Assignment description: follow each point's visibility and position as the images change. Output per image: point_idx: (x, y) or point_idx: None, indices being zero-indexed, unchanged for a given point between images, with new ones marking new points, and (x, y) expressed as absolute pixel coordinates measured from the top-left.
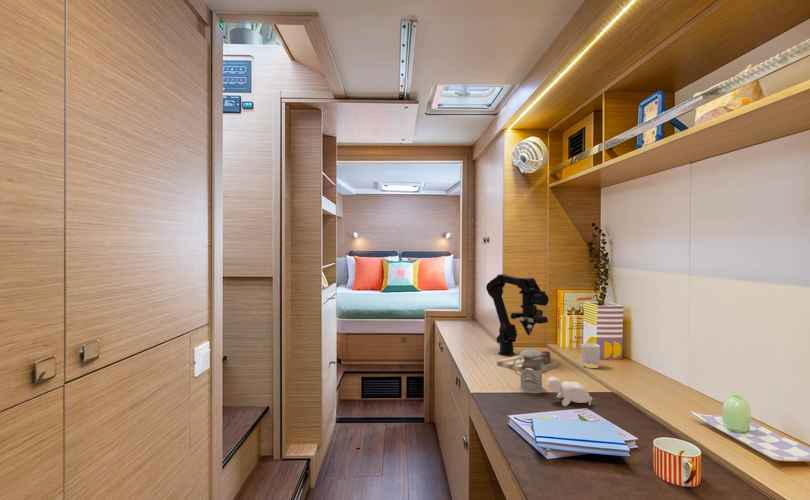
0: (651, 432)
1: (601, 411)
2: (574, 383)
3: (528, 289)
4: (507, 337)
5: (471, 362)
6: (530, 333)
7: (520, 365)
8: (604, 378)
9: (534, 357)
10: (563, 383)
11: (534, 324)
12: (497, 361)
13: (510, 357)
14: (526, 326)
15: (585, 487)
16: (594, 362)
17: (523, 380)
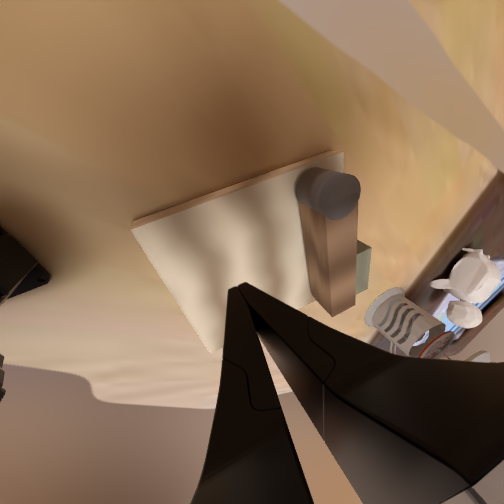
0: None
1: (486, 252)
2: (494, 288)
3: None
4: (3, 389)
5: (148, 401)
6: (258, 292)
7: (293, 299)
8: (486, 81)
9: (354, 284)
10: (477, 302)
11: (406, 358)
12: (212, 350)
13: (177, 302)
14: (315, 424)
15: (481, 328)
16: None
17: (396, 335)
